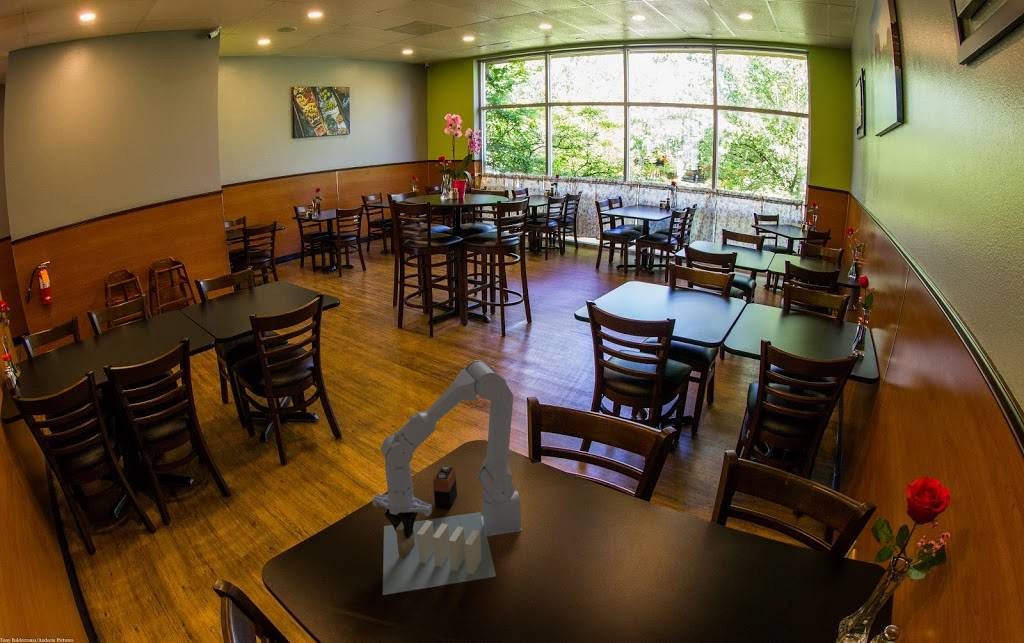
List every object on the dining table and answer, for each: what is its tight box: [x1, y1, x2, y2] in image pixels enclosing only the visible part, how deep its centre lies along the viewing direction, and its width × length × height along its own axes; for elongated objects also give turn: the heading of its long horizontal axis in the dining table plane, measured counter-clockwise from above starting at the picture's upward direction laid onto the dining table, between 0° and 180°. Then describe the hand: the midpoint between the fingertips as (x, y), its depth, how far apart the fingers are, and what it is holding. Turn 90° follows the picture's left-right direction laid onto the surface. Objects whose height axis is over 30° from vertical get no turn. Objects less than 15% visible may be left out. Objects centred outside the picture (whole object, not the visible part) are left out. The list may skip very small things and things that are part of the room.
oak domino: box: [396, 522, 415, 558], centre depth 139 cm, size 2×5×8 cm, turn 161°
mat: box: [382, 511, 497, 596], centre depth 141 cm, size 25×24×1 cm
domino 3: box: [449, 527, 466, 571], centre depth 135 cm, size 2×5×8 cm, turn 161°
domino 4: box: [465, 530, 482, 574], centre depth 134 cm, size 2×5×8 cm, turn 161°
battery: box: [432, 464, 458, 510], centre depth 158 cm, size 4×7×10 cm, turn 168°
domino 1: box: [417, 519, 434, 564], centre depth 137 cm, size 2×5×8 cm, turn 161°
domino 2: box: [433, 523, 450, 567], centre depth 136 cm, size 2×5×8 cm, turn 161°
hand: (404, 534), depth 139 cm, fingers closed on oak domino, 2 cm apart
